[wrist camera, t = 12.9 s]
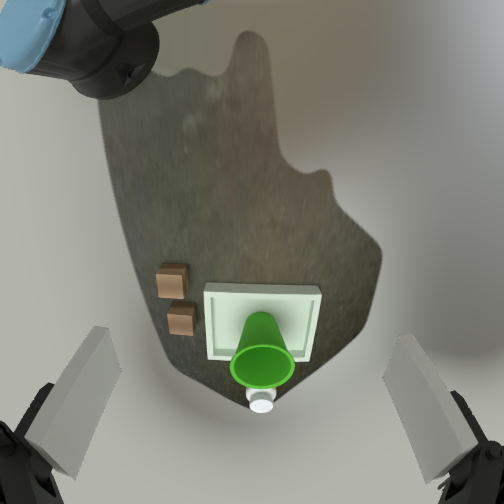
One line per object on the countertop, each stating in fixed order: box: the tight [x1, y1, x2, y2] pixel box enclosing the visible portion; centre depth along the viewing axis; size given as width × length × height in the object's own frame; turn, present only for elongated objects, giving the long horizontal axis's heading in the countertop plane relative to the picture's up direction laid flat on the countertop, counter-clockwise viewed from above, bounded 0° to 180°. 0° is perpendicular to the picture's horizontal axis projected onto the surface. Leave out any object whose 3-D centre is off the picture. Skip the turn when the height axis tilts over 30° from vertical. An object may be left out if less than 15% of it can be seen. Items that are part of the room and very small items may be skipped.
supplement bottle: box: [246, 387, 276, 413], centre depth 48 cm, size 5×5×10 cm
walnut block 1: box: [156, 263, 189, 299], centre depth 44 cm, size 4×4×4 cm
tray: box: [204, 282, 322, 362], centre depth 47 cm, size 14×18×3 cm
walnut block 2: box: [167, 301, 197, 336], centre depth 46 cm, size 4×4×4 cm
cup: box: [230, 312, 295, 389], centre depth 42 cm, size 9×9×11 cm
